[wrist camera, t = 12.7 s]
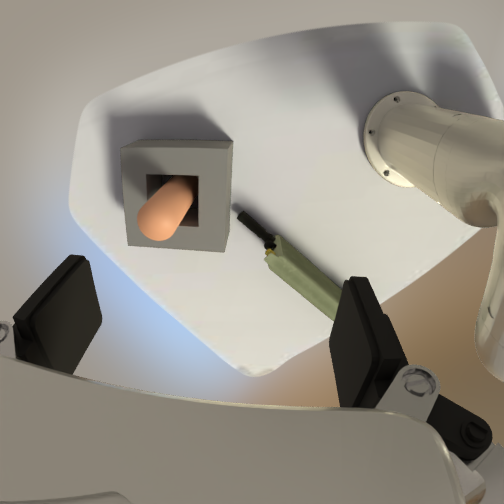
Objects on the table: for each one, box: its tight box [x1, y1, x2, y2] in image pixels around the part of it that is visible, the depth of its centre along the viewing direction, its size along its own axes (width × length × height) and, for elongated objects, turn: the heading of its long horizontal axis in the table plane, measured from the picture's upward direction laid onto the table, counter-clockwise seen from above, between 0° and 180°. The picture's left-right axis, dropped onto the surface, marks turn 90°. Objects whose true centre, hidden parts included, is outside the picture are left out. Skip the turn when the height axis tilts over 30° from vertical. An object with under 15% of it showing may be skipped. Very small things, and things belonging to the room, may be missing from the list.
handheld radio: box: [237, 211, 342, 321], centre depth 43 cm, size 7×3×25 cm
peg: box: [137, 175, 199, 241], centre depth 35 cm, size 4×4×12 cm
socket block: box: [120, 140, 233, 252], centre depth 38 cm, size 12×12×6 cm
